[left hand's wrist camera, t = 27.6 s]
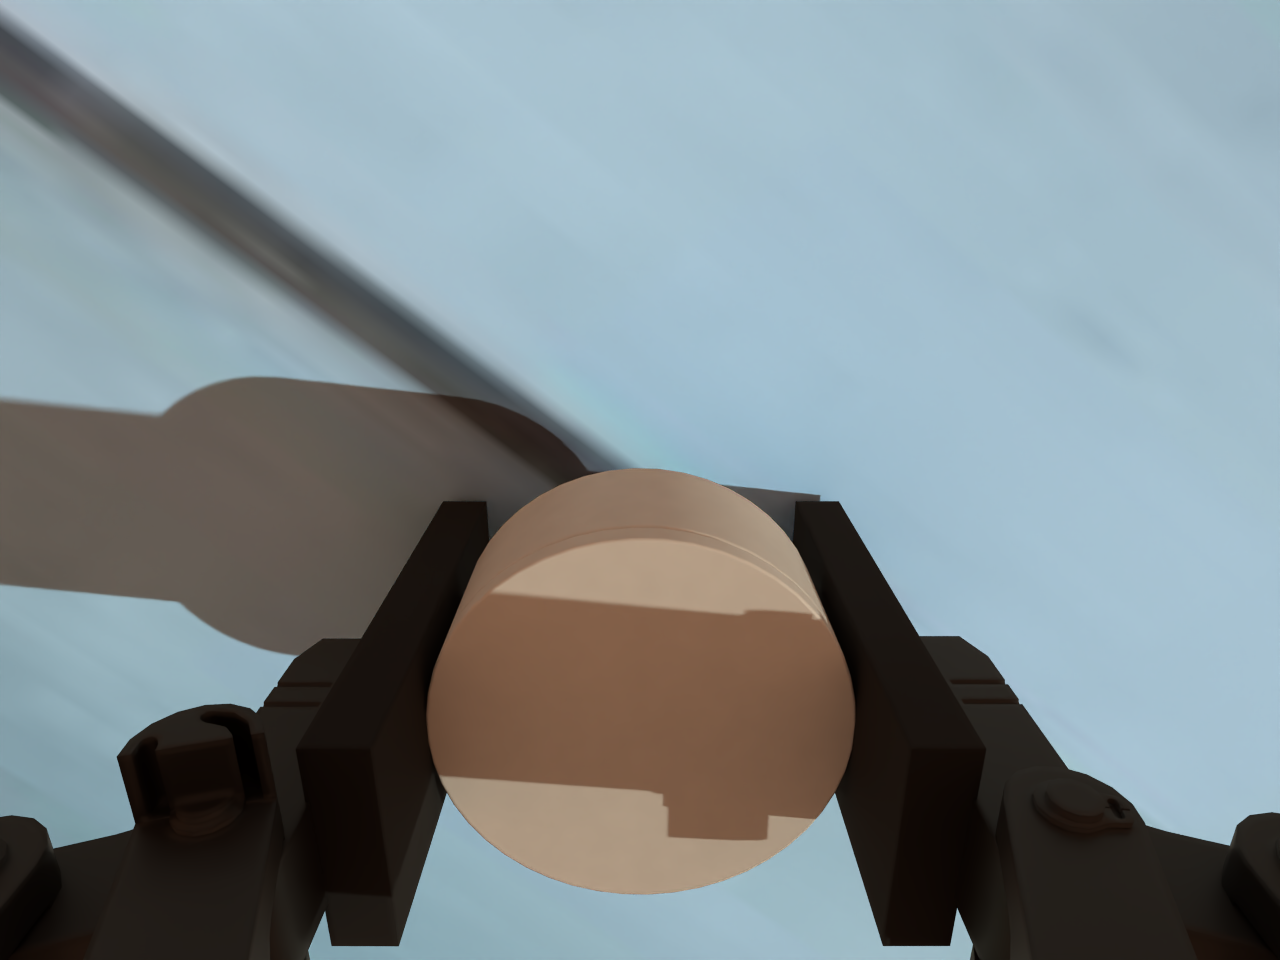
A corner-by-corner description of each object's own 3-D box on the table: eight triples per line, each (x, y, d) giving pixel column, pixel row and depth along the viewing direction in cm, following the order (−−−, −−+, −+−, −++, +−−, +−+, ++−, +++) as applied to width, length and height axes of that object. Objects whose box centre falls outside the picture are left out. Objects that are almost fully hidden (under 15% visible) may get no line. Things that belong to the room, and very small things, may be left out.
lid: (770, 420, 11) (802, 482, 9) (849, 728, 13) (893, 843, 11) (407, 526, 12) (354, 609, 10) (533, 807, 14) (513, 932, 12)
